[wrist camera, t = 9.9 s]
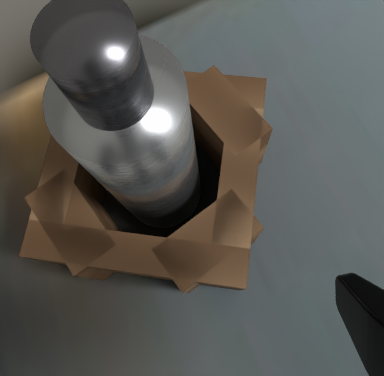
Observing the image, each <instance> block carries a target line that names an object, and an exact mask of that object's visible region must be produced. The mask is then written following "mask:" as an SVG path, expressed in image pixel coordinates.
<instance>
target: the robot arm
mask: <svg viewBox="0 0 384 376" xmlns="http://www.w3.org/2000/svg"><path fill="white" fill-rule="evenodd" d="M335 288H336V305H337V308H338V311H339V313H340V315H341V317H342V319H343V322H344V324H345V326H346V328H347V330H348V332H349V335H350V337H351V339H352V341H353V343H354V345H355V348H356V350H357V352H358V354H359V356H360V358H361V361H362V363H363V365H364V367H365V369H366V371H367V373H368V374H369V376H384V290H383V289H381V288H380V287H378V286H376V285H374V284H373V283H371V282H369V281H367V280H366V279H364V278H362V277H360V276H358V275H357V274H354V273H348V274H343V275H339V276H337V277H336V280H335Z"/></svg>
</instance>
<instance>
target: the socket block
mask: <svg viewBox="0 0 384 376" xmlns="http://www.w3.org/2000/svg"><path fill="white" fill-rule="evenodd" d="M183 72H184V75H185V78H186V83H187V90H188V97H189V104H190V111H191V119H192V126H193V133H194V140H195V141H196V142H197V144H198V145H199V146H200V147H201V148H202V150H203V151H204V152H205V153H206V154H207V156H208V157H209V158H210V159H211V160H212V162H213V163H214V164H215V165H216V166H217V168H218V169H219V170H220V179H219V187H218V195H217V200H216V201H215V202H214V203H212V204H211V205H210V206H208V207H207V208H206V209H204V210H203V211H202V212H200V213H199V214H198V215H196V216H195V217H194V218H192V219H191V220H190V221H188V222H187V223H186V224H184V225H183V226H182V227H180V228H179V229H178V230H177V231H175V232H174V233H173V234H171V235H170V236H169V237H167V238H165V237H158V236H150V235H143V234H135V233H127V232H121V231H120V230H119V228H118V227H117V226H116V224H115V223H114V221H113V220H112V218H111V217H110V216H109V214H108V213H107V211H106V210H105V208H104V207H103V206H102V205H103V200H104V196H105V191H106V188H105V187H104V186H102V185H101V184H100V183H99V182H98V181H97V180H96V179H95V178H94V177H93V176H92V175H91V174H90V173H89V172H88V171H87V170H86V169H85V168H84V167H83V166H82V165H81V164H80V163H78V162H77V161H76V160H75V159H74V158H73V157H72V156H71V155H70V154H69V153H68V152H67V151H66V150H65V149H64V148H63V147H62V146H61V145H60V144H59V143H58V142H57V141H56V140H55V139H54V137H53V136H52V135H51V138H50V142H49V146H48V150H47V153H46V157H45V161H44V165H43V168H42V172H41V176H40V180H39V183H38V187H37V189H36V190H34V191H33V192H31V193H30V194H28V195H27V196H26V197H24V198H25V200H26V201H27V203H28V205H29V206H30V208H31V213H30V217H29V221H28V224H27V228H26V232H25V236H24V239H23V243H22V247H21V251H20V254H19V256H20V257H25V258H30V259H35V260H40V261H46V262H51V263H56V264H61V265H67V267H68V268H69V270H70V271H71V273H72V275H73V276H75V277H83V278H91V279H98V280H105V279H106V278H108V277H109V276H110V275H112V274H113V273H114V272H117V273H124V274H131V275H138V276H145V277H152V278H158V279H165V280H172V281H174V282H175V284H176V285H177V286H178V288H179V289H180V291H181V292H186V293H189V292H191V291H192V290H193V289H195V288H196V287H197V286H198V285H207V286H214V287H221V288H228V289H235V290H243V289H246V287H247V277H248V266H249V256H250V246H251V244H252V243H253V242H254V241H255V240H256V238H257V237H258V235H259V234H260V233H261V231H262V230H263V228H264V227H263V226H262V225H261V224H260V222H259V221H258V220H257V219H256V218H255V216H254V215H253V214H254V204H255V194H256V183H257V173H258V164H259V163H261V161H262V158H263V155H264V153H265V150H266V147H267V144H268V141H269V138H270V135H271V132H272V129H273V128H272V127H271V126H270V125H269V124H268V123H267V122H266V121H265V120H264V119H263V110H264V100H265V90H266V79H267V78H255V77H244V76H232V75H223V74H222V73H221V72H220V71H219V70H218V69H217V68H216V67H215V66H212V67H211V68H209V69H208V70H206V71H205V72H203V73H197V72H185V71H183Z"/></svg>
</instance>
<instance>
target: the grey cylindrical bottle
mask: <svg viewBox="0 0 384 376" xmlns="http://www.w3.org/2000/svg"><path fill="white" fill-rule="evenodd" d="M30 44H31V48H32V51H33V54H34V56H35V57H36V59H37V60H38V62H39V63H40V64H41V66H42V67H43V68H44V70H45V71H46V72H47V73H48V75H49V78H48V81H47V84H46V86H45V90H44V95H43V113H44V119H45V122H46V124H47V127H48V129H49V131H50V133H51V135H52V136H53V137H54V139H55V140H56V141H57V142H58V143H59V144H60V145H61V146H62V147H63V148H64V149H65V150H66V151H67V152H68V153H69V154H70V155H71V156H72V157H73V158H74V159H75V160H76V161H77V162H78V163H80V164H81V165H82V166H83V167H84V168H85V169H86V170H87V171H88V172H89V173H90V174H91V175H92V176H93V177H94V178H95V179H96V180H97V181H98V182H99V183H100V184H101V185H102V186H104V187H105V188H106V189H107V190H108V191H109V192H110V193H111V194H112V195H113V196H114V197H115V198H116V199H117V200H118V201H119V202H120V203H121V204H122V205H123V206H124V207H125V208H126V209H127V210H129V211H130V212H131V213H132V214H133V215H134V216H135V217H136V218H137V219H138V220H139V221H141V222H142V223H144V224H146V225H149V226H152V227H158V228H166V227H171V226H175V225H177V224H179V223H181V222H183V221H185V220H186V219H187V218H188V217H189V216H190V215H191V214H192V213H193V212H194V210H195V209H196V207H197V205H198V203H199V200H200V196H201V183H200V176H199V169H198V162H197V154H196V147H195V140H194V133H193V126H192V119H191V111H190V104H189V97H188V90H187V83H186V78H185V75H184V72H183V69H182V67H181V65H180V63H179V62H178V60H177V59H176V57H175V56H174V55H173V54H172V53H171V52H170V51H169V50H168V49H167V48H166V47H164V46H163V45H162V44H160V43H158V42H157V41H155V40H153V39H150V38H148V37H145V36H142V35H138V32H137V28H136V25H135V22H134V18H133V15H132V12H131V10H130V8H129V7H128V5H127V4H126V3H125V2H124V1H123V0H52V1H51V2H49V3H48V4H47V5H46V6H45V7H44V8H43V9H42V10H41V11H40V13H39V14H38V15H37V17H36V19H35V21H34V23H33V25H32V29H31V35H30Z"/></svg>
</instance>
